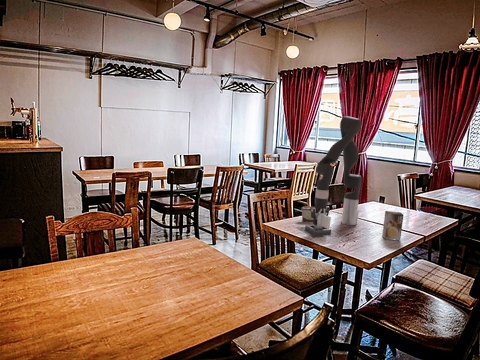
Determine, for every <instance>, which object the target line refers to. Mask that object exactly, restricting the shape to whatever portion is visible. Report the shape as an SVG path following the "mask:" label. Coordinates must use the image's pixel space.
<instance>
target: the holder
mask: <svg viewBox="0 0 480 360" xmlns="http://www.w3.org/2000/svg"><path fill="white" fill-rule="evenodd" d="M295 229H297V230H299V231H301V232H302V233H304V234H305V235H307V236H309V237H311V238H312V239H317V238H318V239H319V238H328V237H329V238H331V237H342V235H341V234H339V233H337V232H336V231H335V230H334V231H333V230H332V229H331V228H325V227H323V229H321V230H316V229H314V224H306V225H304V226H296V227H295Z"/></svg>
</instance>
